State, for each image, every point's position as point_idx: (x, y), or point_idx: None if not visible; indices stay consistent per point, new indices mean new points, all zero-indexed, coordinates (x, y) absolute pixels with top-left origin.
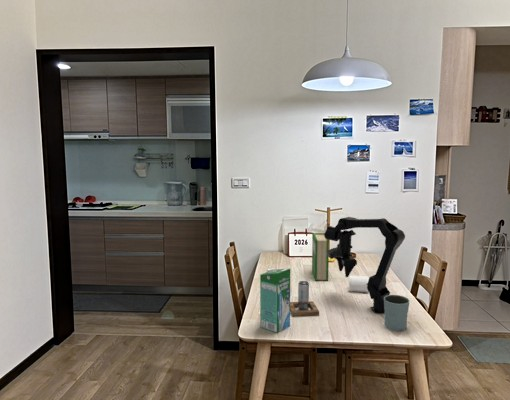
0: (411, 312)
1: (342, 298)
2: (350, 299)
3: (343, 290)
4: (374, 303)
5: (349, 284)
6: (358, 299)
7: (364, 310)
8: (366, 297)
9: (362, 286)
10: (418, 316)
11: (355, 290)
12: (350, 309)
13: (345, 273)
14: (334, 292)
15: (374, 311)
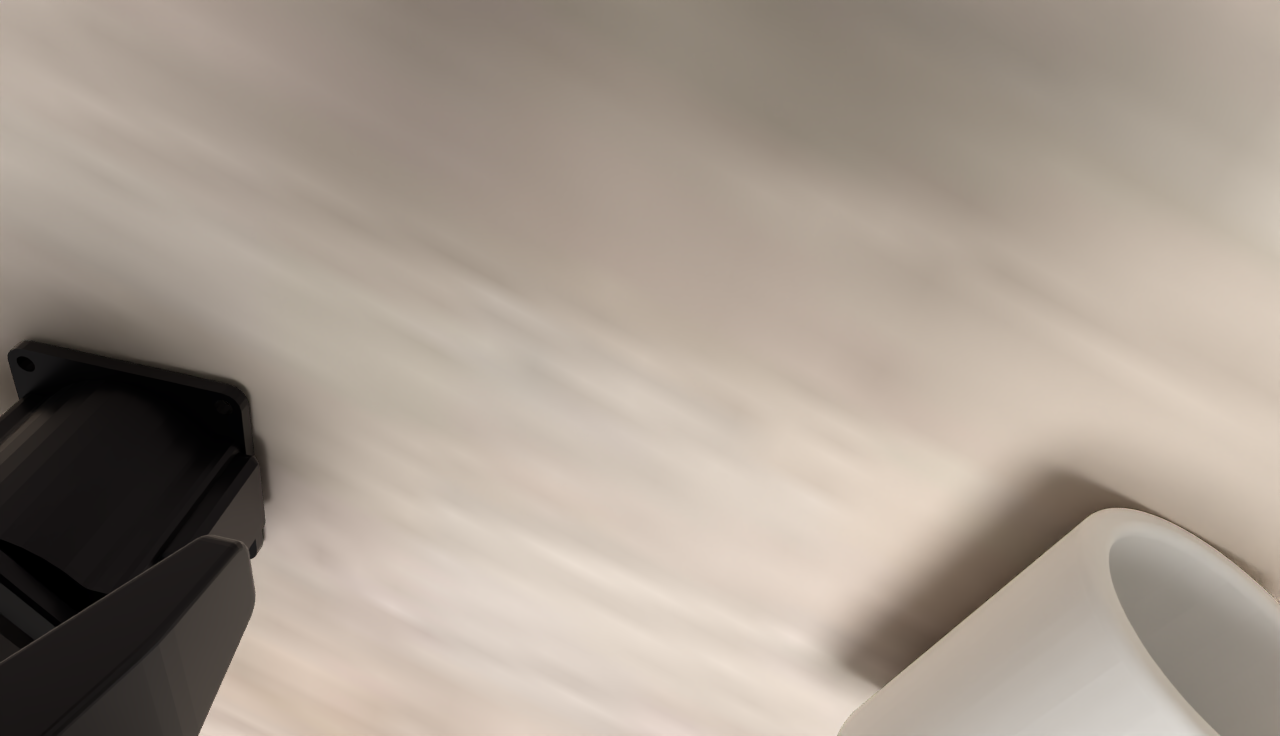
0: None
1: (821, 178)
2: (709, 301)
3: (1242, 433)
4: (21, 455)
5: (1097, 599)
6: (663, 424)
7: (144, 249)
8: (709, 570)
9: (900, 723)
10: None
11: (1009, 582)
12: (183, 20)
13: (31, 663)
14: (1269, 197)
15: (44, 353)
